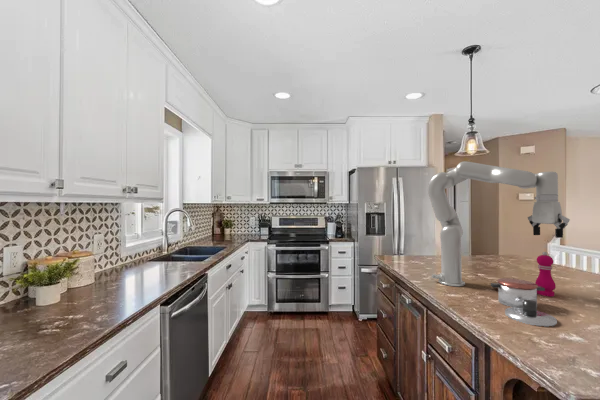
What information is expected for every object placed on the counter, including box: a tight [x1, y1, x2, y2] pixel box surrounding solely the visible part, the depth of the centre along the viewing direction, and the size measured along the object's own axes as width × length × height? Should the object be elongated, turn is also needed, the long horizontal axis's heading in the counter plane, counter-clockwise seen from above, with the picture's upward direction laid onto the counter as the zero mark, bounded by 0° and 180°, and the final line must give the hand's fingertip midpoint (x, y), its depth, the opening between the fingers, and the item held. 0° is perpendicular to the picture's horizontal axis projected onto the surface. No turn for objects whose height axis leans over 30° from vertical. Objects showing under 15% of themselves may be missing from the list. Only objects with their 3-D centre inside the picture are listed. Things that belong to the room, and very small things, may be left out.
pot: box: [490, 277, 545, 308], centre depth 120 cm, size 19×14×9 cm
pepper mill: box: [534, 251, 556, 298], centre depth 131 cm, size 7×7×20 cm
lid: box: [504, 300, 558, 328], centre depth 105 cm, size 15×15×6 cm
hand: (547, 236), depth 128 cm, fingers open, 9 cm apart
